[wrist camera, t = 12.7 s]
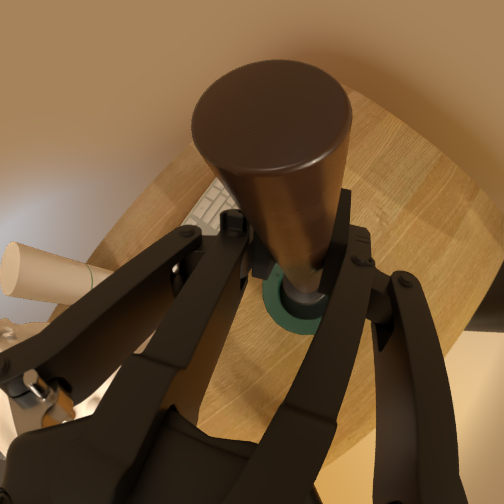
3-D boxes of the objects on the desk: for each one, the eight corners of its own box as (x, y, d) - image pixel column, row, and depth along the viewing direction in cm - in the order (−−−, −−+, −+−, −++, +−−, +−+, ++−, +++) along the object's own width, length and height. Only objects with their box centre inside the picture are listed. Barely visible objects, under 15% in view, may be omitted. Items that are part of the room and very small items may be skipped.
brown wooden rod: (334, 280, 27) (434, 86, 3) (312, 313, 27) (316, 310, 3) (301, 258, 28) (241, 24, 4) (279, 291, 28) (104, 162, 4)
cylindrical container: (106, 273, 49) (3, 243, 26) (133, 273, 48) (23, 239, 24) (104, 308, 48) (-2, 293, 24) (131, 310, 46) (16, 297, 22)
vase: (110, 389, 44) (-28, 413, 13) (119, 313, 47) (-35, 293, 16) (182, 422, 39) (41, 502, 9) (196, 338, 42) (16, 354, 12)
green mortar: (355, 285, 39) (369, 275, 28) (317, 342, 38) (318, 352, 28) (300, 249, 42) (295, 227, 32) (262, 304, 41) (245, 300, 31)
